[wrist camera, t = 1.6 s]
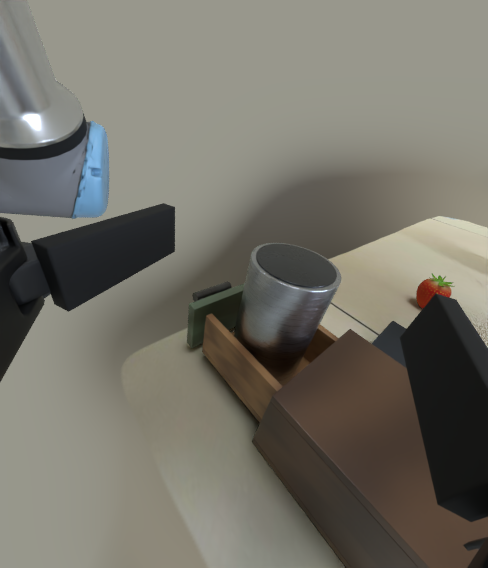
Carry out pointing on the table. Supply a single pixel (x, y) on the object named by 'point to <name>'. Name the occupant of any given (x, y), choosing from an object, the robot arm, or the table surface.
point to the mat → (391, 342)
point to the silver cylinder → (284, 305)
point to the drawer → (239, 346)
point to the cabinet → (362, 462)
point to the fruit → (432, 290)
